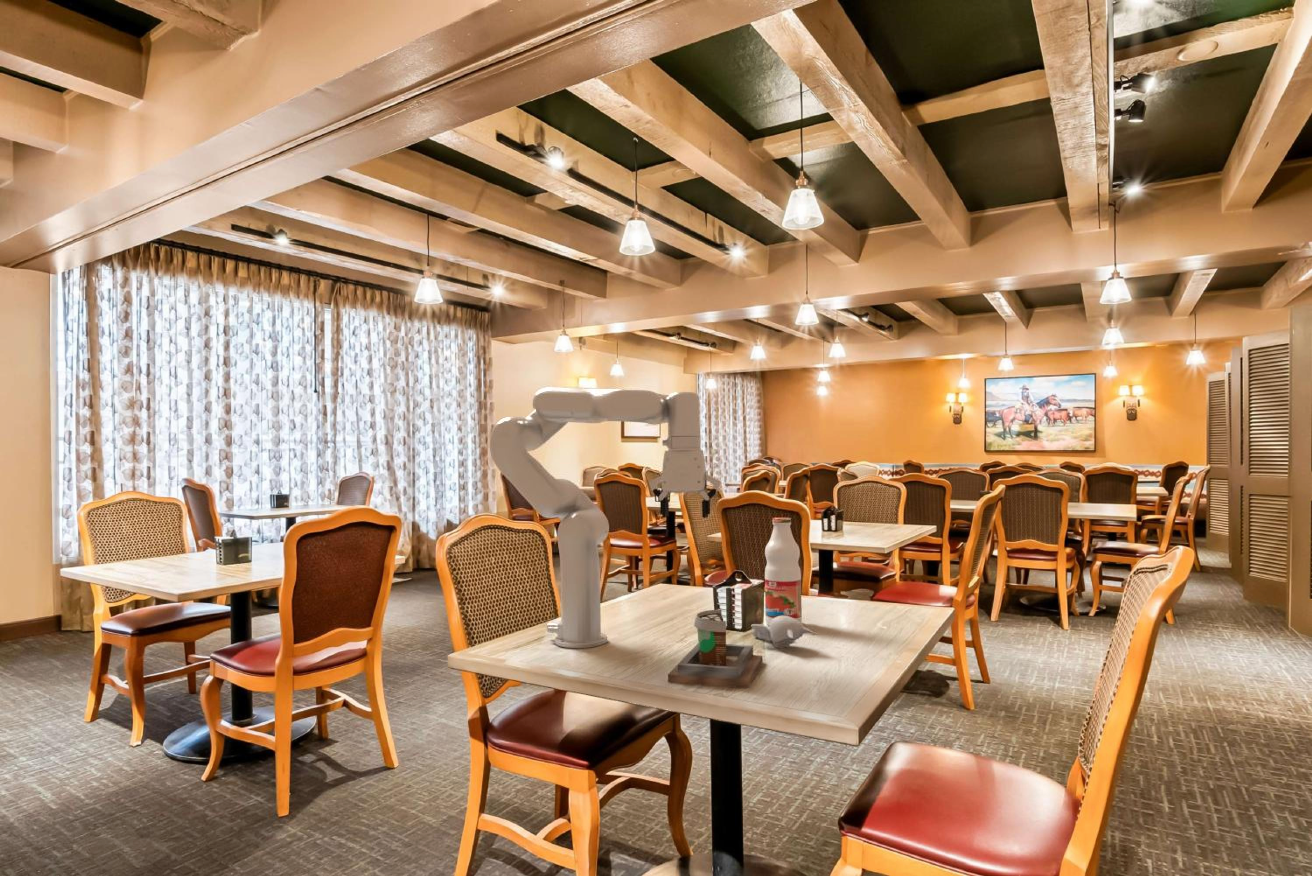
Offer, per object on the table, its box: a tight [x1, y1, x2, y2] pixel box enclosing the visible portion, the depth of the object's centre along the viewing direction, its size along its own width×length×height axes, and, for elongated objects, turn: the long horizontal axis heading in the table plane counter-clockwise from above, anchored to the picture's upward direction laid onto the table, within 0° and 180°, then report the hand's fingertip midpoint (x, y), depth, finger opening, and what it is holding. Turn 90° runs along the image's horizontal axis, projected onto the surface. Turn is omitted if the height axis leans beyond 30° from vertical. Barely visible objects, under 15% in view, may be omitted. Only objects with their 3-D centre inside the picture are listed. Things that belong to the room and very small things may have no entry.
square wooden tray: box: [667, 642, 763, 689], centre depth 150 cm, size 16×18×4 cm
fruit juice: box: [764, 517, 803, 627], centre depth 192 cm, size 9×9×28 cm
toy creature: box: [750, 616, 817, 649], centre depth 170 cm, size 13×7×20 cm
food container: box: [693, 609, 727, 666], centre depth 151 cm, size 12×6×10 cm, turn 179°
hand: (685, 517), depth 171 cm, fingers open, 9 cm apart
